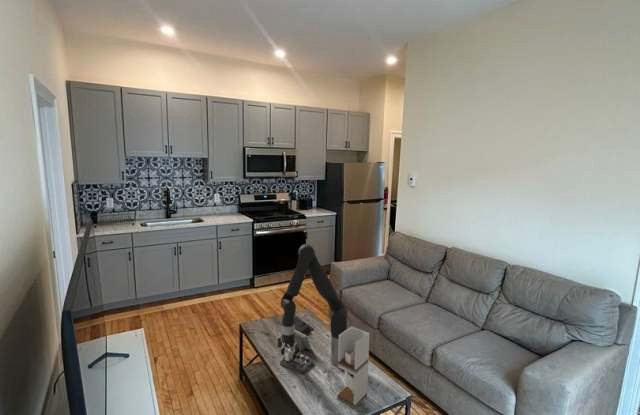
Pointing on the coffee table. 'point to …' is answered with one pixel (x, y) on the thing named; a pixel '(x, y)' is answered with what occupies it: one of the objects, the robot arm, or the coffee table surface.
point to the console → (298, 363)
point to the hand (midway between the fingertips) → (288, 356)
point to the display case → (354, 365)
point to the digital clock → (302, 341)
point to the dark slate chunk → (301, 326)
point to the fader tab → (288, 355)
